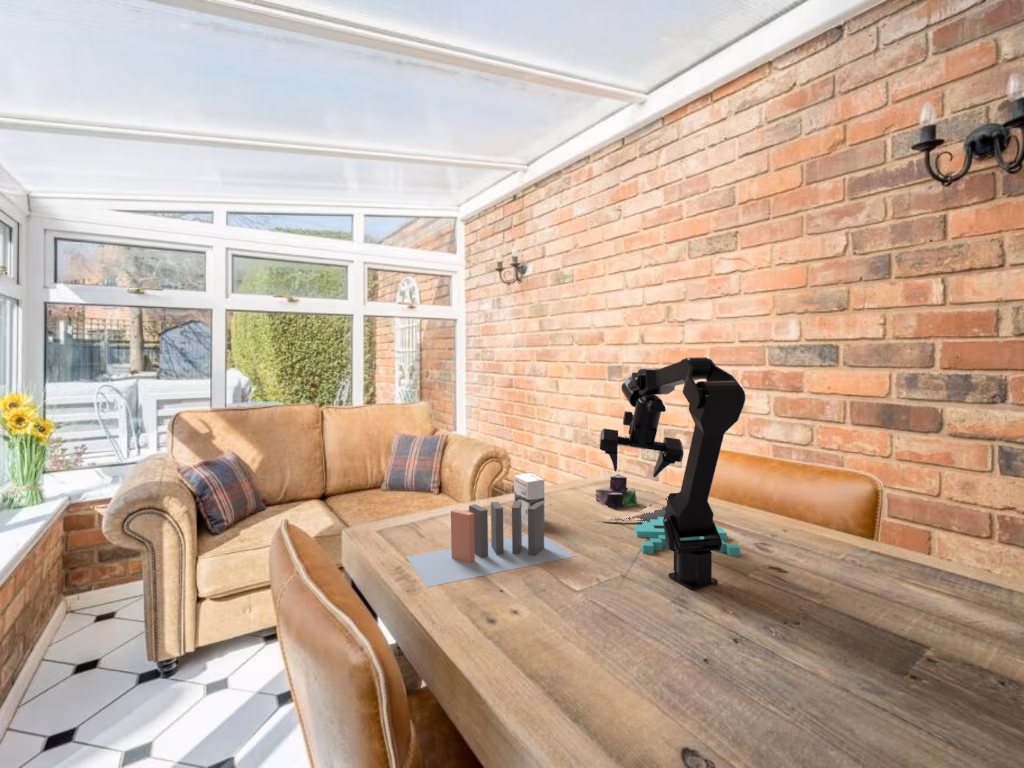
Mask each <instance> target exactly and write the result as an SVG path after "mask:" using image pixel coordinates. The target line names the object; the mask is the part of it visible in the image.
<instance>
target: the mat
mask: <svg viewBox="0 0 1024 768" xmlns="http://www.w3.org/2000/svg"><path fill="white" fill-rule="evenodd" d="M503 542H504V554H501V555H496V554H495V552H494V550H493V548H492V547H491V540H490V541H489V540H488V557H484V558H480V557H479V556H477V555H476V554H475V561H473V562H472V563H467V562H463V561H460V560H457V559H453V558H452V552H451V548H447V549H445V548H444V549H439V550H434V551H429V552H424V553H418V554H412V555H408V556H406V555H405V558H406V559H407V561H408V562H409V564H410V565H411V567H412V568H413V570H414V571H415V572H416V575H418V576H419V577H418V578H420V580H421V581H422V583H423V584H424V586H425V587H426V588H429V587H435V586H439V585H445V584H449V583H453V582H458V581H465V580H469V579H473V578H478V577H482V576H488V575H492V574H497V573H501V572H506V571H507V572H508V571H510V570H516V569H522V568H527V567H531V566H535V565H540V564H544V563H545V564H546V563H550V562H555V561H559V560H564V559H569V558H573V557H575V555H574V554H572V553H571V552H569V551H568V550H566V549H564V548H563V547H562V546H561V545H559V544H558V543H555V542H554V541H552V540H551V539H550V538H548V537H547V536H545V535H544V549H542V550H541V551H540V552H539V553H538V554H537V555H536V556H532V555H528V534H523V535H522V546H521V551H520V554H512V537H507V538H503Z"/></svg>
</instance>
